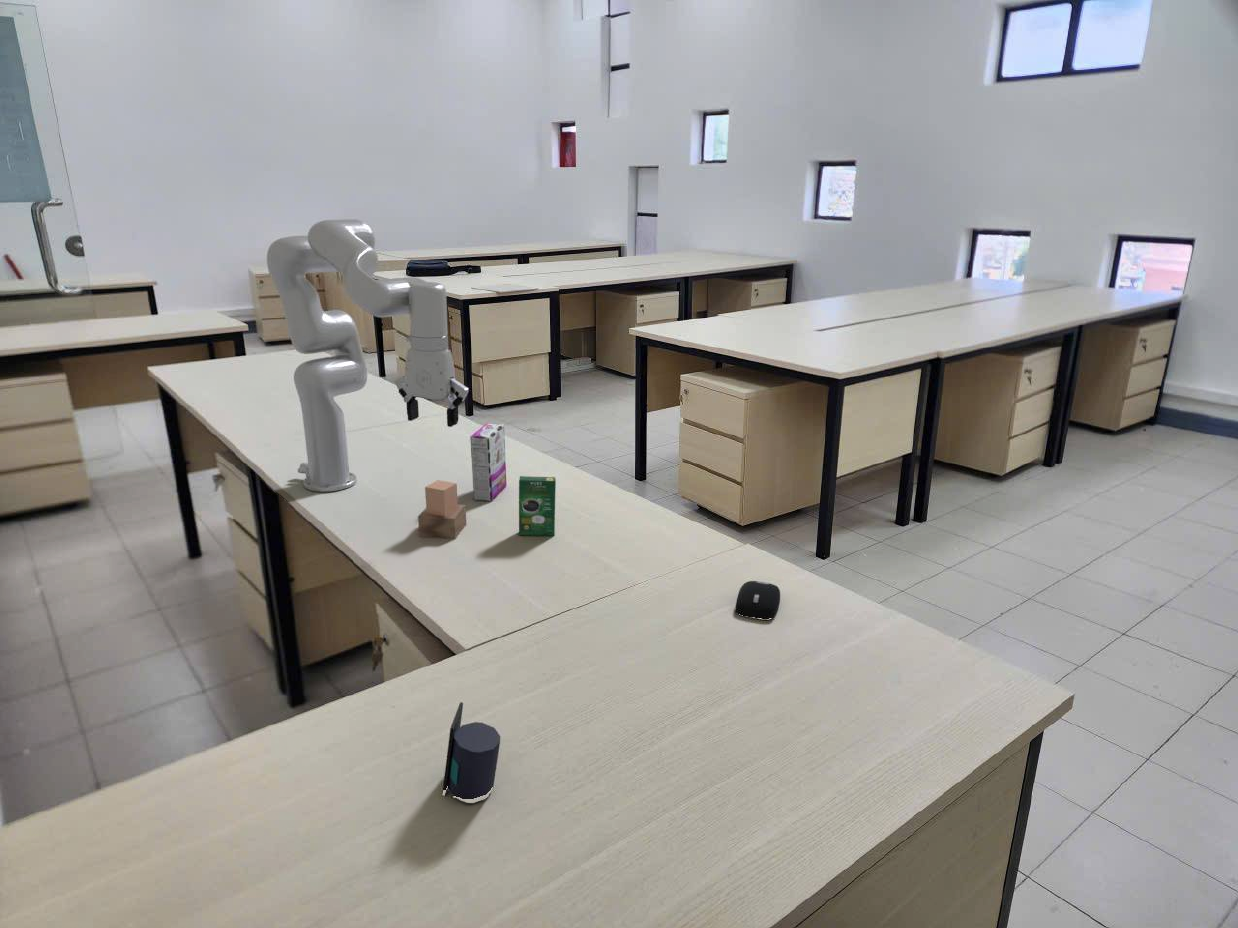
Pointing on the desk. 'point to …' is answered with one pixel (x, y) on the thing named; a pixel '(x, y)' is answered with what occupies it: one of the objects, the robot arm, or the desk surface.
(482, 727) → the speaker
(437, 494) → the peach-colored cube
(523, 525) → the coffee box
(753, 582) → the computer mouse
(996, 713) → the desk surface
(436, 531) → the walnut block
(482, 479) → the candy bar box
